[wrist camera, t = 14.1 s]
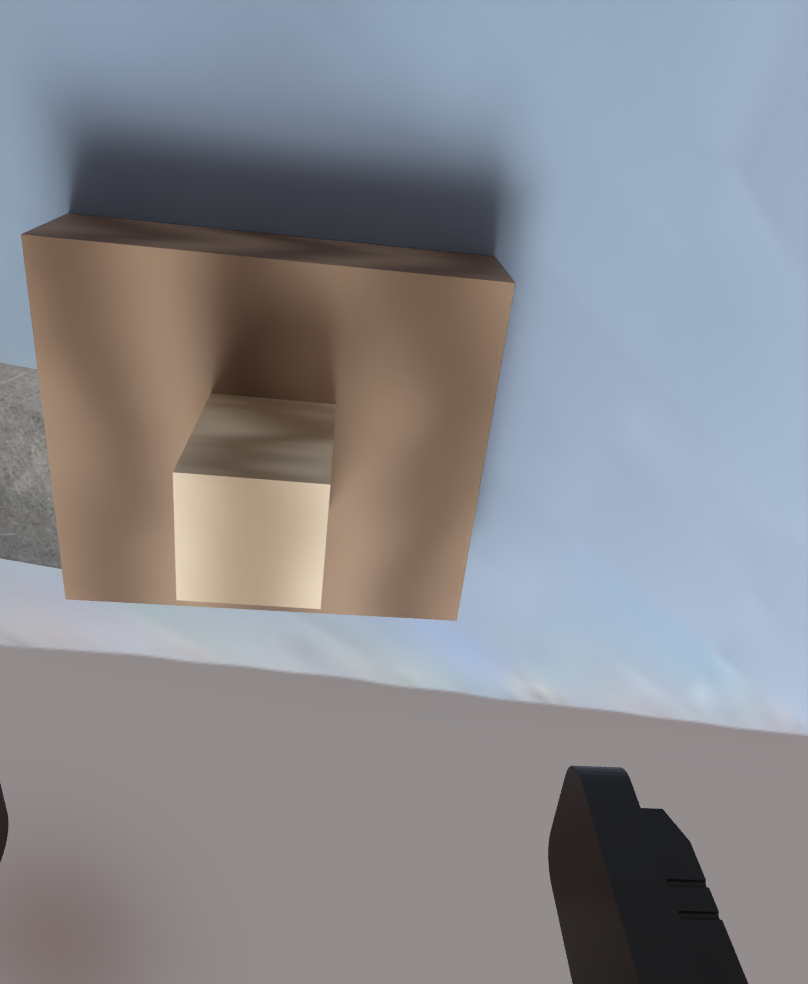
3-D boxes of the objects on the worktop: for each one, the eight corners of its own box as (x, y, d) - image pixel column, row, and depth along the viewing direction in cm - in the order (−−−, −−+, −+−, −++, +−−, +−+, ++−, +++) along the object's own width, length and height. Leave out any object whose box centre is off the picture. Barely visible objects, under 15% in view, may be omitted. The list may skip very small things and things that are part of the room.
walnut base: (494, 256, 33) (515, 282, 29) (446, 562, 41) (456, 620, 36) (67, 213, 32) (20, 234, 27) (98, 541, 39) (65, 599, 35)
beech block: (336, 404, 31) (330, 484, 25) (327, 511, 33) (320, 609, 27) (210, 393, 30) (172, 472, 24) (210, 502, 33) (176, 600, 27)
